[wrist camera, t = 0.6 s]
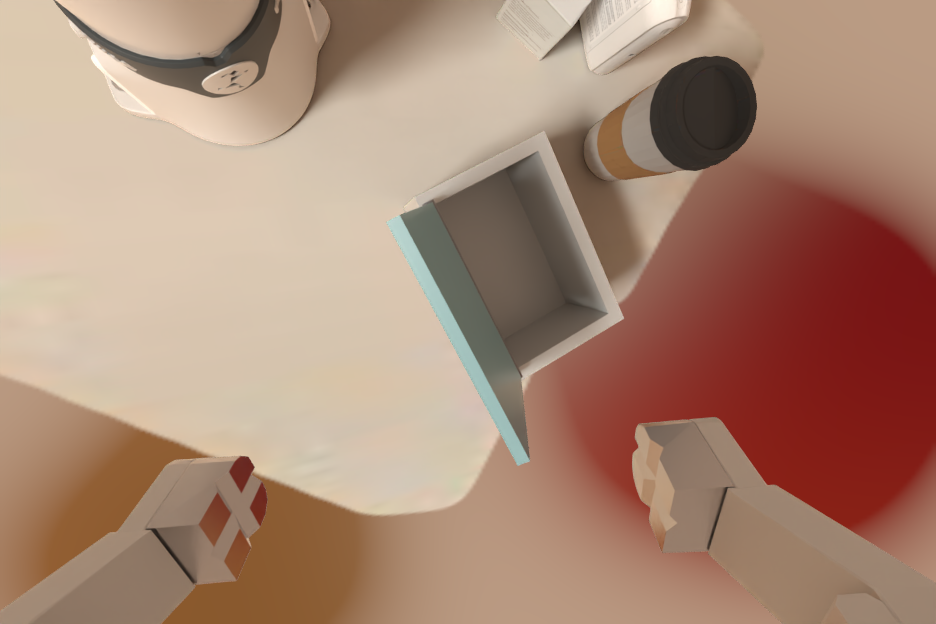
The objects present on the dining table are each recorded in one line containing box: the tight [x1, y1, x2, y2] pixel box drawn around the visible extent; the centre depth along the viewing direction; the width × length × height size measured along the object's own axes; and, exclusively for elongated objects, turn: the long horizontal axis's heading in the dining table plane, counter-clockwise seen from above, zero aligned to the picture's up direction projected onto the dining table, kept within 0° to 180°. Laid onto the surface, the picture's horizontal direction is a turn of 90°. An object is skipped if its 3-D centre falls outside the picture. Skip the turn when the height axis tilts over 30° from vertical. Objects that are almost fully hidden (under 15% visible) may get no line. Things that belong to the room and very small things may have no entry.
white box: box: [403, 131, 624, 381], centre depth 42 cm, size 18×12×9 cm
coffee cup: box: [583, 56, 757, 181], centre depth 40 cm, size 8×8×15 cm
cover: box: [386, 199, 530, 465], centre depth 30 cm, size 16×12×1 cm
